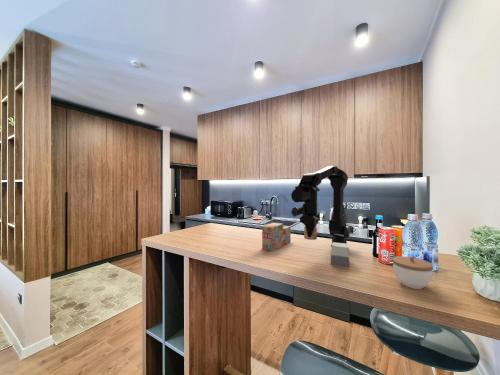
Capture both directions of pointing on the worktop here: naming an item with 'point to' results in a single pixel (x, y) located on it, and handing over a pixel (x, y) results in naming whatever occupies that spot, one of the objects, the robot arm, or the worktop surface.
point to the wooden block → (313, 236)
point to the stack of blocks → (275, 236)
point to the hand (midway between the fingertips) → (310, 235)
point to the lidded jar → (412, 271)
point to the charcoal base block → (340, 260)
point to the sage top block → (340, 249)
